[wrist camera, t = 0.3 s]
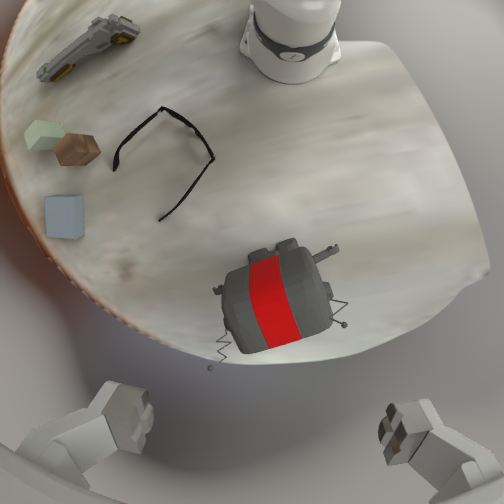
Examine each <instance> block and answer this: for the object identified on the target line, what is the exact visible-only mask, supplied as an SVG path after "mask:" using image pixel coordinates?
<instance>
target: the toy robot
mask: <svg viewBox="0 0 504 504" xmlns="http://www.w3.org/2000/svg"><path fill="white" fill-rule="evenodd" d="M276 246H277V249H278V250H277V251H276V250H274V251H271V252H268V251H267V249H266V248H263V249H260V250H257V251H254V252H252V253H250V254H249V255H248V258H249V260H250V263H249V265H248V266H245V267H242V268H239V269H237V270H234V271H231V272H229V273H228V274H227V276H226V279H225V283H224V286H223V285H219V286H218V288H215V287H214V288H213V291H214V293H215V295H220V294H222V311H223V314H224V319H223V321H224V325H225V328H226V329H227V331H230V332H231V334H232V336H233V338H234V340H235V342H236V344H237V346H238V348H239V350H240V352H242V353H243V354H252V353H257V352H260V351H264V350H267V349H271V348H275V347H278V346H281V345H285V344H288V343H291V342H294V341H298V340H300V339H303V338H306V337H309V336H312V335H315V334H318V333H321V332H322V331H324V330H326V329H328V328H329V327H330V326H331V325H332V323H333V321H335V322H338V323H340V324H342V325H341V326H342V328H346V327H347V325H348V324H347V323H346V322H343V323H341V322H339V321H336V320H334V319H333V315H335V314H336V313H337V312H339V311H340V310H341V309H342V308H344V307H345V306H346V305H348V303H347V302H342V301H337V300H332V298H333V297H334V296H333V293H332V290H331V287H330V284H329V282H322V279H321V276H320V274H319V271H318V269H317V266H316V263H318V262H320V261H322V260H324V259H326V258H328V257H329V256H331V255H334V254H336V253H338V252H339V248H338V245H337V244H335V246H334V247H333V248H332V246H329V247H327V249H326V250H323V251H322V252H320V253H318V254H316V255H314V256H312V255H311V253H310V251H309V250H308V249H307V248H305V247H298V244H297V241H296V239H295V238H291V239H287V240H284V241H282V242H279V243H277V244H276ZM330 300H332V301H336V302H341V303H347V304H346V305H344V306H343V307H342V308H341V309H339V310H338V311H337V312H335V313H334V314H333V313H332V309H331V306H330V303H329V301H330ZM225 331H226V330H225ZM226 335H227V332H226ZM226 335H224V336H226ZM224 336H223V337H224ZM223 337H221V338H223ZM221 338H220V339H221ZM220 339H219V340H220ZM219 340H217V341H216V342H222V341H219ZM226 343H229V344H230V343H232V342H226ZM229 344H227V345H229ZM227 345H226V346H227ZM226 346H224V347H226ZM224 347H222V348H221V349H223V348H224ZM221 349H219V350H221ZM219 350H218V351H217V352H219ZM219 353H220V352H219ZM220 354H222V353H220ZM222 355H223V354H222ZM223 356H225V355H223ZM225 358H227V357H226V356H225ZM225 358H224V359H225ZM224 359H222V360H221V361H223V360H224ZM221 361H219V362H218V363H220V362H221ZM218 363H217V364H218ZM217 364H215V365H217ZM215 365H214V366H215ZM214 366H211V365H210V366H208V370H209V371H212V370H213V367H214Z"/></svg>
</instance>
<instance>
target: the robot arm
mask: <svg viewBox="0 0 504 504" xmlns="http://www.w3.org/2000/svg"><path fill="white" fill-rule="evenodd" d="M251 1H252V3H253V4H252V5H250V7H249V15H250V17H249V20H248V21H247V25H246V28H245V31H244V34H243V37H242V40H241V43H240V46H239V49H240V52H241V53H242V54H244V55H245V56H247V57H249V58H251V59H252V60H253V62H254V63H255V65H256V66H257V67H258V69H259V70H260V71H261V72H262V73H263V74H265V75H266V76H267V77H269V78H271V79H273V80H275V81H278V82H282V83H288V84H298V83H304V82H307V81H310V80H312V79H314V78H316V77H317V76H318V75H320V74H321V73H322V72H323V70H324V69H325V68H326V67H327V66H328V65H331V64H333V63H335V62H337V61H339V60H340V58H341V53H340V48H339V44H338V40H337V36H336V32H335V18H336V16H337V14H338V11H339V9H340V5H341V0H251ZM246 42H247V44H246ZM149 400H150V394H149V391H147V390H144V389H140V388H136V387H132V386H128V385H124V384H120V383H116V382H112V381H107V382H105V383H104V385H103V386H102V388H101V389H100V391H99V392H98V394H97V395H96V396H95V398H94V399H93V401H92V402H91V404H90V405H89V407H88V408H87V409H85V408H82V409H80V410H78V411H75V412H73V413H71V414H69V415H66V416H64V417H61V418H59V419H56V420H54V421H52V422H49V423H47V424H44V425H42V426H39V427H37V428H34V429H32V430H31V431H30V432H29V434H28V435H27V437H26V438H25V439H24V441H23V442H22V443H21V444H20V446H19V447H18V449H17V450H16V451H15V452H14V451H12V450H10V449H9V448H7V447H6V446H4V445H3V444H1V443H0V504H126V503H123V502H120V501H117V500H114V499H111V498H108V497H106V496H103V495H100V494H98V493H95V492H93V491H90V490H89V489H90V485H89V483H88V482H87V480H86V479H85V477H84V476H83V474H82V473H83V472H85V471H86V470H88V469H89V468H91V467H92V466H94V465H96V464H97V463H99V462H100V461H102V460H103V459H105V458H106V457H107V456H109V455H110V454H112V453H113V452H115V451H116V450H117V448H119V449H122V450H126V451H130V452H134V453H138V454H140V453H141V451H142V448H143V446H144V444H145V442H146V439H145V435H144V434H146V433H148V432H149V431H150V430H151V427H152V423H153V419H154V412H153V407H152V406H151V405H150V404H149ZM386 413H387V416H385V417H384V418H383V419H382V420H381V422H380V424H379V430H378V436H379V441H380V443H381V444H382V445H383V446H385V450H384V452H383V454H384V457H385V459H386V463H387V465H388V466H390V465H397V464H403V463H408V464H409V465H410V466H411V467H412V468H413V469H414V470H416V471H417V472H418V473H419V474H420V475H421V476H422V477H423V478H424V479H426V480H427V481H428V482H429V483H430V484H431V485H432V486H433V487H435V488H436V489H437V490H438V492H437V493H436V494H435V495H434V496H433V497H432V498H431V499H430V501H429V504H504V473H503V472H502V470H501V468H500V466H499V464H498V462H497V460H496V459H495V457H494V455H493V453H492V452H491V451H489V450H487V449H486V448H484V447H482V446H480V445H479V444H477V443H475V442H473V441H472V440H470V439H468V438H466V437H465V436H463V435H461V434H460V433H458V432H456V431H454V430H453V429H451V428H449V427H444V425H443V423H442V421H441V419H440V418H439V416H438V414H437V412H436V410H435V409H434V407H433V405H432V403H431V402H430V400H429V399H427V398H426V399H419V400H413V401H405V402H396V403H390V404H389V405H388V407H387V409H386Z"/></svg>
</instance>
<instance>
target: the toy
mask: <svg viewBox="0 0 504 504" xmlns="http://www.w3.org/2000/svg"><path fill="white" fill-rule="evenodd" d="M137 33H139V26H137V25H135V24H133V23H132V21H131V20H129V19H127V18H124V17H122V16H121V17H120V18H118V16H116V15H114V14H111V15H109V19H108V20H107V19H103V18H101V17H97V18H96V19H94V20H93V21H92V25H91V26H89V27H88V31H87V32H86V33H84V34H83V35H82V36H80V37H79V38H78V39H77V40H75V41H74V42H73V43H72V44H70V45H69V46H68V47H67V48H65V49H64V50H63V51H62V52H61V53H60V54H58V55H57V56H56V57H55V58H54V59H53V60H52V61H51V62H50V63H45V64H44V65H43V66H42V67H41V68H40V69H39V70H38V71H37V72H36V73H37V78H40V82H49V81H51V82H56V81H57V80H59V79H60V78H61V77H62V76H63V75H65V74H66V73H67V72H68V71H70V70H71V69H72V68H73V67H74V66H75V62H77V61H78V60H79V59H81V58H82V57H83V56H85V55H90V54H91V53H93V54H95V53H96V52H102V51H103V50H104V49H106V48H107V47H109V46H111V45H112V44H115V43H120V44H123V43H125V42H126V43H129V42H131V41H133V40H134V39H135V38H136V37H137V36H136V34H137Z"/></svg>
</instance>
